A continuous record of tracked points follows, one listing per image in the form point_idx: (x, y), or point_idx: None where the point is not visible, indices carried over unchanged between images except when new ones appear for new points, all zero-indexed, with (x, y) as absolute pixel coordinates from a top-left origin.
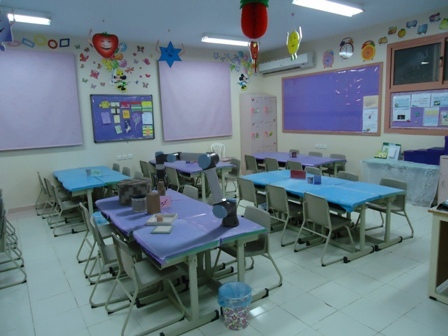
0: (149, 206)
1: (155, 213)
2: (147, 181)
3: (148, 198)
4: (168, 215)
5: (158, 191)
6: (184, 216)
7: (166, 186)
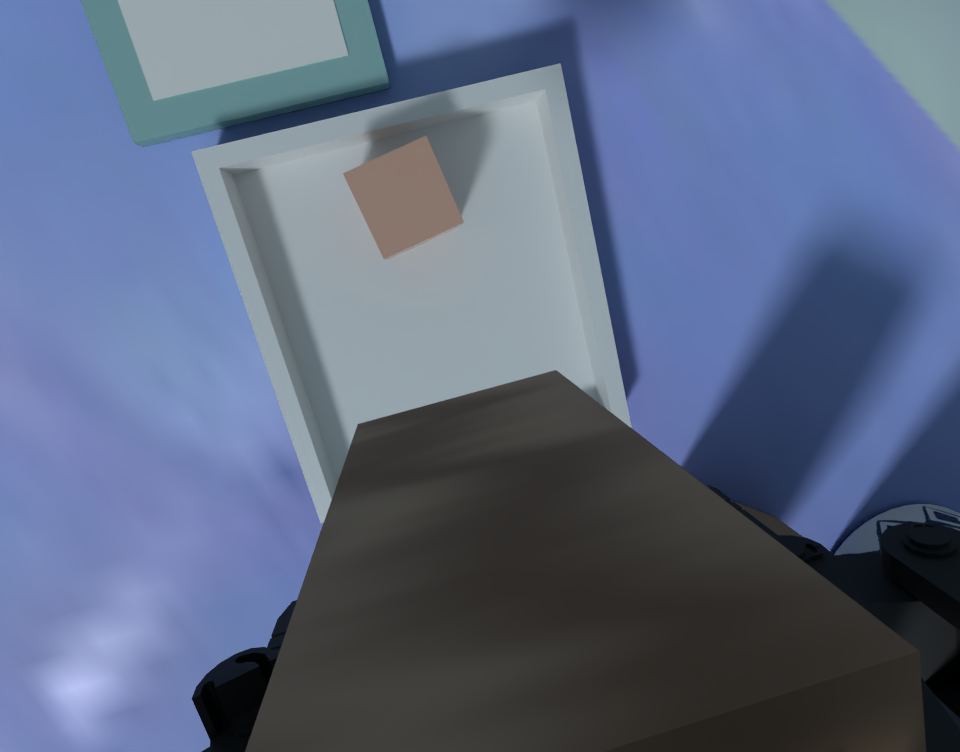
0: None
1: None
2: None
3: None
4: None
5: (574, 415)
6: (265, 551)
7: (203, 713)
